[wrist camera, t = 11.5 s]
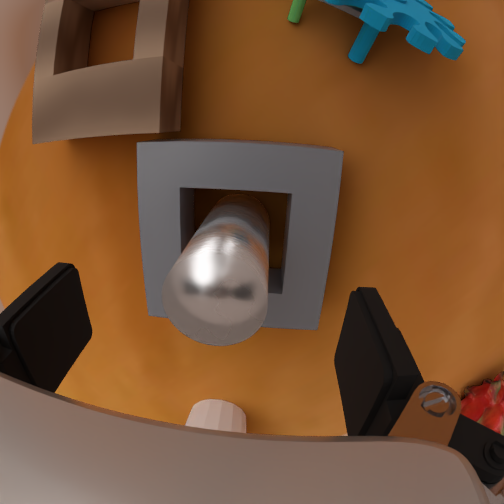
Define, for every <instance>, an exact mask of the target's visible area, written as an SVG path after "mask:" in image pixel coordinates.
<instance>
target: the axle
mask: <svg viewBox="0 0 504 504" xmlns="http://www.w3.org/2000/svg"><path fill="white" fill-rule="evenodd" d="M269 229H270V221H269V215H268V213H267V210H266V209H265V207H264V206H263V204H262V203H261V202H260V201H259V200H257V199H256V198H254V197H252V196H250V195H247V194H241V193H236V194H230V195H227V196H225V197H223V198H222V199H220V200H219V201H218V202H217V203H216V204H215V205H214V207H213V208H212V210H211V211H210V212H209V214H208V215H207V217H206V218H205V220H204V221H203V222H202V224H201V225H200V227H199V228H198V230H197V231H196V233H195V234H194V236H193V237H192V239H191V240H190V242H189V243H188V245H187V246H186V247H185V249H184V250H183V252H182V253H181V255H180V256H179V258H178V260H177V261H176V263H175V264H174V266H173V267H172V269H171V270H170V272H169V273H168V275H167V276H166V278H165V281H164V284H163V287H162V303H163V307H164V310H165V312H166V314H167V316H168V318H169V319H170V321H171V322H172V324H173V325H174V326H175V327H176V328H177V329H178V330H179V331H180V332H182V333H183V334H184V335H186V336H187V337H189V338H191V339H193V340H195V341H197V342H200V343H203V344H207V345H214V346H227V345H233V344H236V343H239V342H242V341H244V340H246V339H248V338H249V337H251V336H252V335H253V334H255V333H256V332H257V331H258V330H259V328H260V327H261V325H262V324H263V322H264V320H265V317H266V314H267V306H268V271H269Z"/></svg>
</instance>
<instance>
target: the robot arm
mask: <svg viewBox="0 0 504 504" xmlns="http://www.w3.org/2000/svg"><path fill="white" fill-rule="evenodd" d="M91 337H92V327H91V323H90V319H89V316H88V312H87V308H86V304H85V299H84V295H83V291H82V286H81V282H80V277H79V272H78V270H77V269H76V268H75V267H74V265H73V264H69V263H60V262H59V263H57V264H56V265H54V266H53V267H52V268H51V269H50V270H48V271H47V272H46V273H45V274H44V275H43V276H41V277H40V278H39V279H38V280H37V281H36V282H34V283H33V284H32V285H31V286H30V287H29V288H28V289H27V290H25V291H24V292H23V293H22V294H21V295H20V296H19V297H18V298H17V299H15V300H14V301H13V302H12V303H11V304H10V305H9V306H8V307H7V308H6V309H5V310H4V311H3V312H2V313H1V314H0V504H504V436H503V435H501V434H499V433H497V432H495V431H493V430H491V429H489V428H487V427H485V426H484V425H482V424H480V423H478V422H476V421H474V420H472V419H470V418H468V417H466V416H464V415H462V414H461V413H460V412H461V400H460V398H459V396H458V394H457V393H456V392H455V391H454V390H453V389H452V388H451V387H449V386H448V385H446V384H444V383H440V382H435V381H429V382H424V380H423V378H422V376H421V373H420V371H419V369H418V367H417V365H416V363H415V361H414V358H413V356H412V354H411V352H410V350H409V348H408V346H407V344H406V342H405V340H404V338H403V336H402V334H401V332H400V330H399V329H398V328H396V326H395V324H394V322H393V320H392V318H391V316H390V314H389V312H388V310H387V309H386V307H385V305H384V303H383V301H382V299H381V297H380V295H379V293H378V291H377V290H376V288H371V287H358V288H357V290H356V291H352V292H351V294H350V297H349V302H348V306H347V310H346V314H345V318H344V322H343V326H342V330H341V334H340V338H339V342H338V345H337V349H336V353H335V358H334V364H335V369H336V374H337V379H338V384H339V389H340V395H341V400H342V405H343V411H344V416H345V422H346V428H347V433H348V436H288V435H267V434H252V433H240V432H230V431H221V430H212V429H205V428H198V427H191V426H185V425H179V424H173V423H167V422H162V421H156V420H151V419H147V418H142V417H137V416H133V415H129V414H124V413H120V412H116V411H112V410H109V409H105V408H101V407H97V406H94V405H90V404H87V403H84V402H80V401H77V400H74V399H71V398H68V397H65V396H62V395H59V394H56V393H55V391H56V390H57V388H58V386H59V385H60V383H61V382H62V380H63V379H64V377H65V376H66V374H67V373H68V371H69V370H70V368H71V367H72V365H73V364H74V362H75V361H76V359H77V358H78V356H79V355H80V353H81V352H82V350H83V349H84V347H85V346H86V345H87V343H88V342H89V340H90V339H91Z"/></svg>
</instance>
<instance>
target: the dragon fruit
mask: <svg viewBox="0 0 504 504" xmlns="http://www.w3.org/2000/svg"><path fill="white" fill-rule="evenodd" d="M503 375H504V371H503V372H500V373H499V374H498V375H497V376H496V377H495V379H494V381H493V382H492V381H491V380H490V379H485V380H484V381H483V384H482V385H481V386H472V387H470V388H468V387H469V386H468V387H467V388H468V389H467V388H466V389H465V390H464V392H465V396H466V397H465V398H464V399H463V400H462V401H461V412H460V413H461V414H462V415H464V416H466V417H468V418H470V419H472V420H474V421H476V422H478V423H480V424H482V425H484V426H485V427H487V428H489V429H491V430H493V431H495V432H497V433H499V434H501V435H503V436H504V380H503V379H502V378H503ZM467 395H468V396H467Z"/></svg>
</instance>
